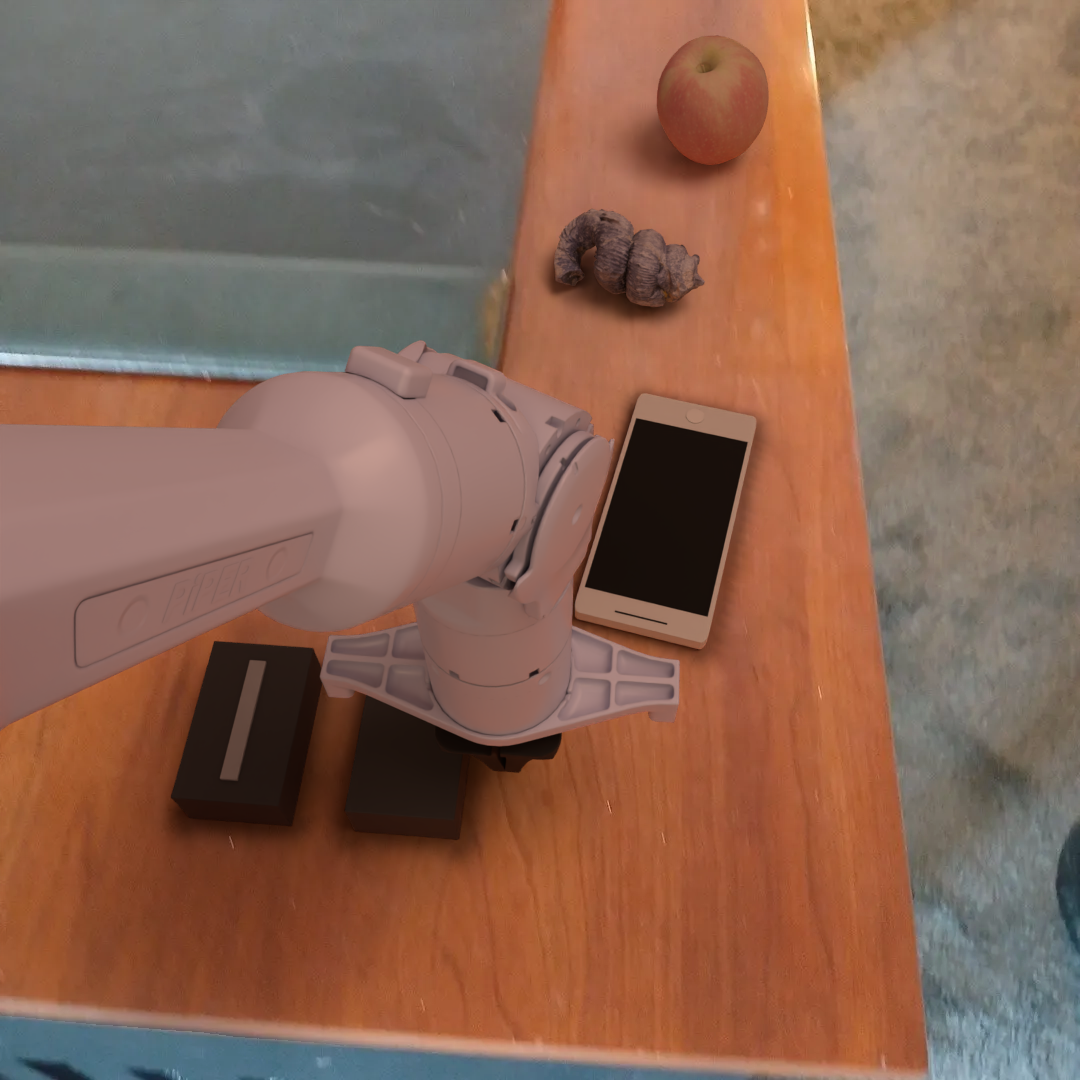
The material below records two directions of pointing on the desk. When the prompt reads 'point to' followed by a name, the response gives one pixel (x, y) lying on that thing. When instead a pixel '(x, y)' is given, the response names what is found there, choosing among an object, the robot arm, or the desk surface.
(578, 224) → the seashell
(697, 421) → the smartphone
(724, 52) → the apple
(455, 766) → the pad
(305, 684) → the pad
